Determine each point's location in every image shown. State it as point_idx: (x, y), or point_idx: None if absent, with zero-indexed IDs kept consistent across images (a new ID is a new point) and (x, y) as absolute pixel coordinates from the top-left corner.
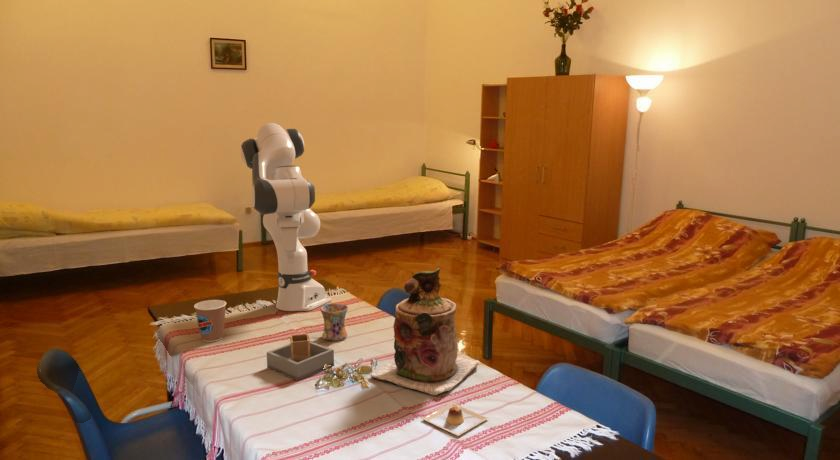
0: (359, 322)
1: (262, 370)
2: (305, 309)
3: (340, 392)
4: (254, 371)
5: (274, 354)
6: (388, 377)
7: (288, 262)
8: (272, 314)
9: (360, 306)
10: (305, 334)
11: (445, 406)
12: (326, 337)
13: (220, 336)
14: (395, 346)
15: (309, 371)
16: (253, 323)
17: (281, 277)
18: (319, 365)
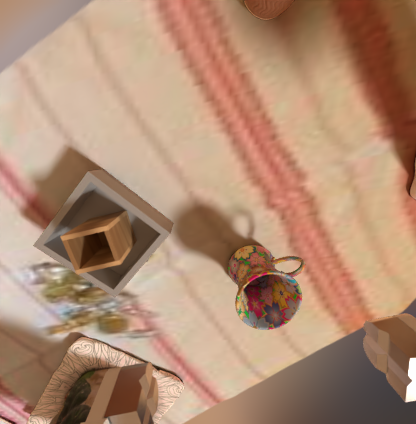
0: (323, 295)
1: (91, 161)
2: (414, 186)
3: (25, 301)
4: (84, 147)
5: (77, 191)
6: (69, 363)
7: (104, 383)
8: (407, 112)
9: (411, 288)
10: (115, 258)
11: (3, 421)
12: (234, 256)
13: (255, 12)
14: (65, 418)
15: None
16: (354, 77)
17: None
18: None
